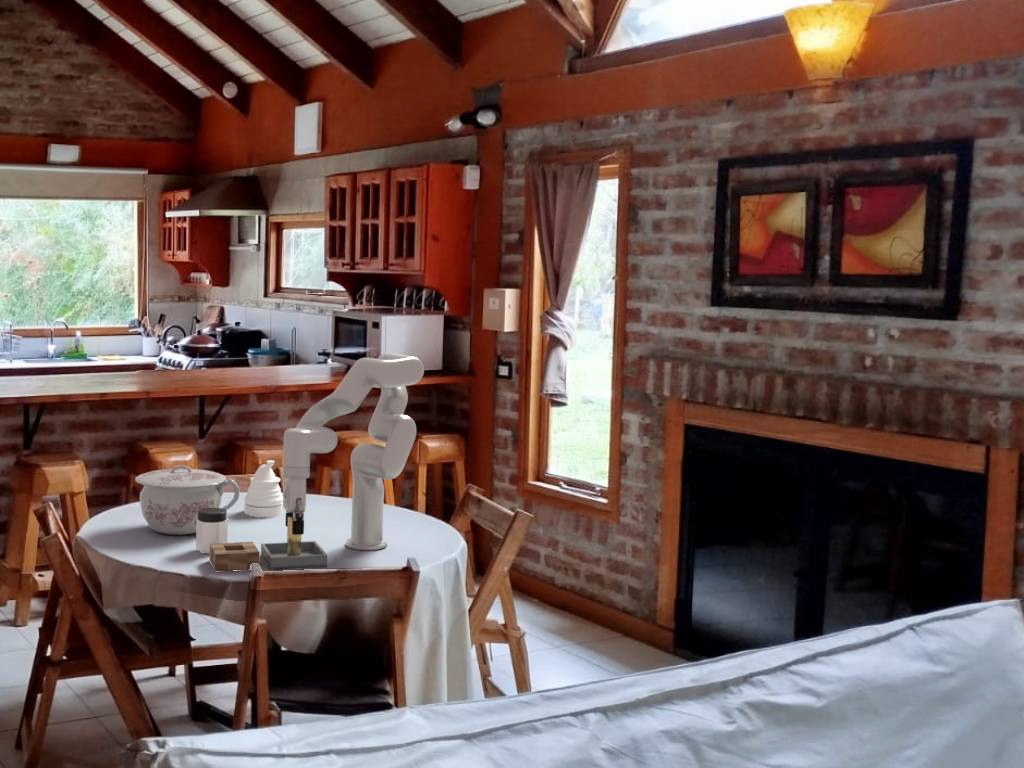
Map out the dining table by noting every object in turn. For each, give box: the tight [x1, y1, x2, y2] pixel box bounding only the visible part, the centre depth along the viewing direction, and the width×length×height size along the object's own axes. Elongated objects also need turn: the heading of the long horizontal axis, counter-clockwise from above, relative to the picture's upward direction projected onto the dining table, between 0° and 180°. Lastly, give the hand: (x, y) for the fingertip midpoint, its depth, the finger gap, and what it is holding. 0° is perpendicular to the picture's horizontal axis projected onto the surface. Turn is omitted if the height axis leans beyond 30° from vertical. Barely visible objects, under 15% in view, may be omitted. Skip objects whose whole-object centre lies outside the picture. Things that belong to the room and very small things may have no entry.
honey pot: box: [243, 460, 284, 519], centre depth 389 cm, size 13×13×18 cm
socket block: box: [209, 541, 261, 572], centre depth 325 cm, size 12×12×5 cm
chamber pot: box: [134, 464, 241, 536], centre depth 360 cm, size 28×28×21 cm
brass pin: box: [286, 516, 302, 556], centre depth 332 cm, size 4×4×12 cm
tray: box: [260, 540, 329, 571], centre depth 333 cm, size 16×16×4 cm
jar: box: [195, 507, 229, 554], centre depth 339 cm, size 9×8×12 cm
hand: (294, 530), depth 332 cm, fingers open, 9 cm apart
